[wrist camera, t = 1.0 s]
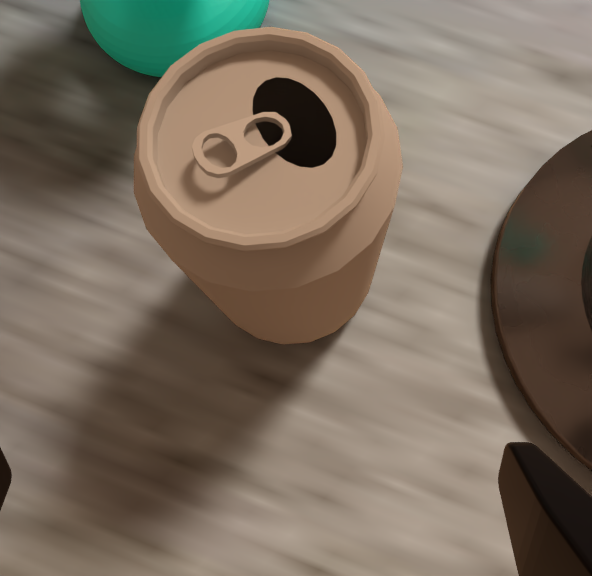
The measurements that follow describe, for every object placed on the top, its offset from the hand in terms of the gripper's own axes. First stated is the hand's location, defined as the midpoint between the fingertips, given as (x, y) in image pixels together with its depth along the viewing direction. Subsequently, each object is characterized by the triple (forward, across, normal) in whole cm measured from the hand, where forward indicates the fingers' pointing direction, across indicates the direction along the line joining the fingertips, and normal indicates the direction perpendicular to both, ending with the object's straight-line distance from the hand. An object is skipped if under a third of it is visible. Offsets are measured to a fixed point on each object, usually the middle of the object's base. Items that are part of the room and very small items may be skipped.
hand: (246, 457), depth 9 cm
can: (+15, 0, +4) cm, 16 cm away
